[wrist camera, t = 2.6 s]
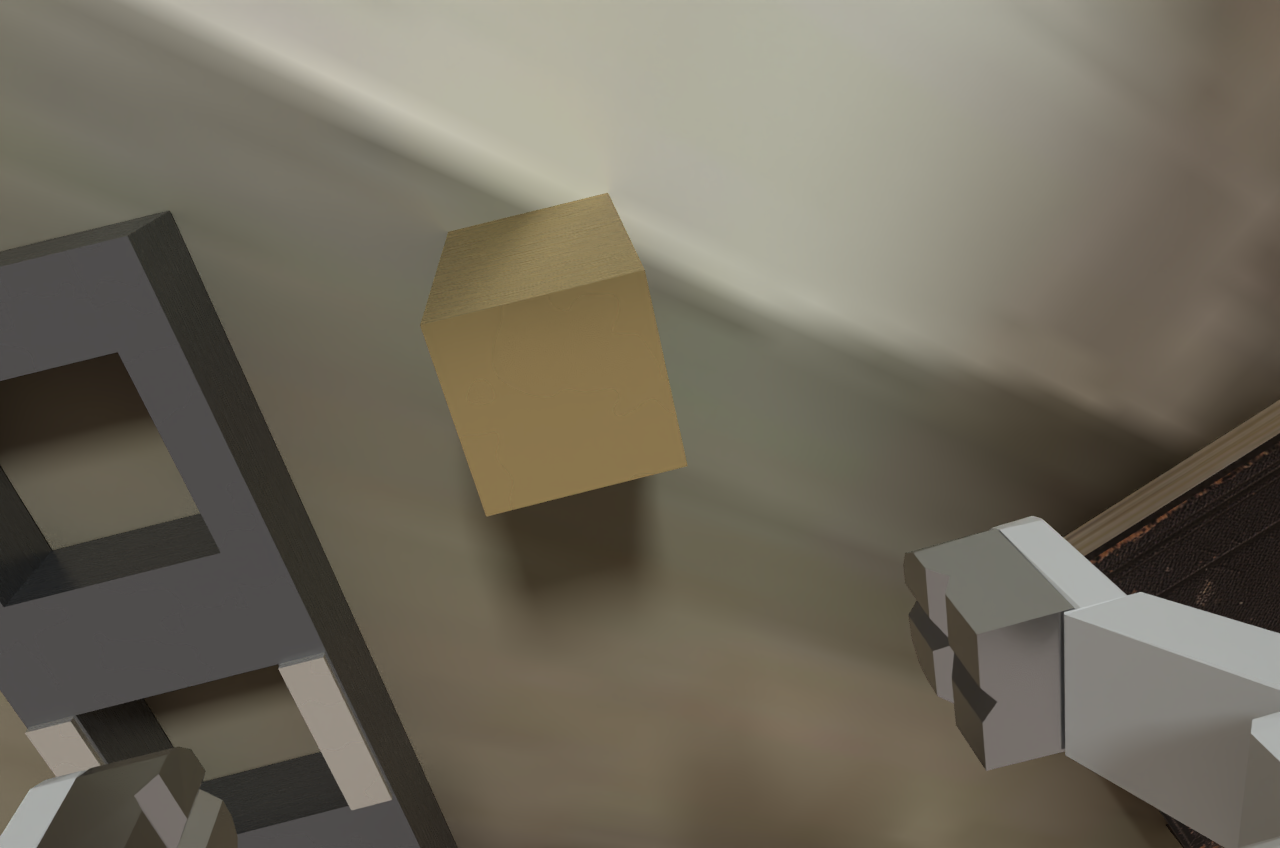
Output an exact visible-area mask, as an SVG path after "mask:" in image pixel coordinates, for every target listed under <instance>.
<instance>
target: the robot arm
mask: <svg viewBox="0 0 1280 848" xmlns="http://www.w3.org/2000/svg"><path fill="white" fill-rule="evenodd" d="M903 566H904V576H905V584H906V585H907V587H908V588H909V590H910V591H911V592H912V594H913V595H914V597H915V598H916V600H917V602H916V603H915V605H914V607H913V608H912V610H911V612H910V613H909V622H910V629H911V636H912V641H913V644H914V648H915V651H916V654H917V657H918V661H919V663H920V666H921V668H922V670H923V672H924V674H925V676H926V678H927V680H928V682H929V683H930V685H931V687H932V688H933V690H934V691H935V693H936V695H937V696H939V697H941V698H943V699H945V700H947V701H949V702H952V703H954V709H955V719H956V726H957V727H958V729H959V730H960V732H961V733H962V735H963V736H964V738H965V739H966V741H967V742H968V744H969V745H970V747H971V748H972V750H973V751H974V753H975V755H976V756H977V758H978V759H979V761H980V762H981V764H982V765H983V767H984V768H985V770H986V771H987V770H991V769H995V768H999V767H1003V766H1007V765H1011V764H1016V763H1020V762H1024V761H1028V760H1032V759H1036V758H1040V757H1044V756H1048V755H1052V754H1056V753H1060V752H1064V751H1065V755H1066V756H1068V757H1069V758H1071V759H1073V760H1074V761H1076V762H1078V763H1080V764H1081V765H1083V766H1085V767H1086V768H1088V769H1090V770H1092V771H1093V772H1095V773H1097V774H1099V775H1100V776H1102V777H1104V778H1105V779H1107V780H1109V781H1111V782H1112V783H1114V784H1116V785H1118V786H1119V787H1121V788H1123V789H1124V790H1126V791H1128V792H1130V793H1131V794H1133V795H1135V796H1137V797H1138V798H1140V799H1142V800H1143V801H1145V802H1147V803H1149V804H1150V805H1152V806H1154V807H1155V808H1157V809H1159V810H1161V811H1162V812H1164V813H1166V814H1168V815H1169V816H1171V817H1173V818H1174V819H1176V820H1178V821H1180V822H1181V823H1183V824H1185V825H1187V826H1188V827H1190V828H1192V829H1193V830H1195V831H1197V832H1199V833H1200V834H1202V835H1204V836H1205V837H1207V838H1209V839H1211V840H1212V841H1214V842H1216V843H1218V844H1219V845H1221V846H1223V847H1224V848H1280V633H1276V632H1273V631H1270V630H1266V629H1263V628H1260V627H1256V626H1253V625H1250V624H1246V623H1243V622H1240V621H1236V620H1233V619H1230V618H1226V617H1223V616H1220V615H1216V614H1213V613H1210V612H1206V611H1203V610H1200V609H1196V608H1193V607H1190V606H1186V605H1183V604H1180V603H1176V602H1173V601H1170V600H1166V599H1163V598H1159V597H1156V596H1153V595H1149V594H1146V593H1143V592H1139V593H1135V594H1131V595H1126V594H1125V593H1124V592H1123V591H1122V590H1121V589H1120V588H1119V587H1118V586H1116V585H1115V584H1114V583H1113V582H1112V581H1111V580H1110V579H1109V578H1108V577H1106V576H1105V575H1104V574H1103V573H1102V572H1101V571H1100V570H1099V569H1098V568H1096V567H1095V566H1094V565H1093V564H1092V563H1091V562H1090V561H1089V560H1088V559H1086V558H1085V557H1084V556H1083V555H1082V554H1081V553H1080V552H1079V551H1078V550H1076V549H1075V548H1074V547H1073V546H1072V545H1071V544H1070V543H1069V542H1068V541H1066V540H1065V539H1064V538H1063V537H1062V536H1061V535H1060V534H1059V533H1058V532H1056V531H1055V530H1054V529H1053V528H1052V527H1051V526H1050V525H1049V524H1048V523H1046V522H1045V521H1044V520H1043V519H1042V518H1039V517H1035V516H1030V517H1026V518H1023V519H1020V520H1016V521H1013V522H1010V523H1006V524H1003V525H1000V526H996V527H993V528H990V530H988V531H984V532H981V533H977V534H973V535H969V536H966V537H962V538H958V539H955V540H951V541H947V542H944V543H940V544H936V545H933V546H929V547H925V548H922V549H918V550H914V551H911V552H907V553H905V557H904V564H903ZM205 772H206V771H205V769H204V768H203V766H202V765H201V763H200V762H199V760H198V759H197V757H196V756H195V754H194V753H193V751H192V750H191V749H186V748H182V747H175V748H171V749H166V750H162V751H158V752H154V753H150V754H146V755H142V756H138V757H134V758H130V759H126V760H121V761H117V762H113V763H109V764H105V765H101V766H97V767H93V768H90V769H88V770H83V771H78V772H74V773H70V774H67V775H63V776H59V777H55V778H51V779H47V780H44V781H43V782H41V783H39V784H38V785H36V786H35V787H33V788H31V789H30V790H29V792H28V793H27V795H26V797H25V798H24V800H23V801H22V803H21V804H20V806H19V808H18V809H17V811H16V812H15V814H14V816H13V817H12V819H11V820H10V822H9V824H8V825H7V827H6V828H5V830H4V832H3V833H2V835H1V836H0V848H238V836H237V833H236V829H235V826H234V822H233V818H232V816H231V814H230V812H229V810H228V809H227V807H226V805H225V803H224V802H223V800H221V799H219V798H217V797H215V796H213V795H211V794H209V793H207V792H205V791H203V790H201V789H200V788H201V785H202V782H203V778H204V775H205Z"/></svg>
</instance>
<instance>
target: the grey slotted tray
mask: <svg viewBox="0 0 1280 848" xmlns="http://www.w3.org/2000/svg"><path fill="white" fill-rule="evenodd" d="M116 352H118V354H119V356H120V358H121V360H122V362H123V363H124V365H125V367H126V369H127V371H128V373H129V375H130V377H131V379H132V381H133V383H134V385H135V387H136V389H137V391H138V393H139V395H140V397H141V398H142V400H143V402H144V404H145V406H146V408H147V410H148V412H149V414H150V416H151V418H152V420H153V422H154V424H155V426H156V428H157V430H158V432H159V433H160V435H161V437H162V439H163V441H164V443H165V445H166V447H167V449H168V451H169V453H170V455H171V457H172V459H173V461H174V463H175V465H176V467H177V468H178V470H179V472H180V474H181V476H182V478H183V480H184V482H185V484H186V486H187V488H188V490H189V492H190V494H191V496H192V498H193V500H194V502H195V503H196V505H197V507H198V509H199V511H200V513H201V514H197V515H193V516H189V517H185V518H181V519H177V520H173V521H169V522H165V523H161V524H157V525H153V526H149V527H145V528H141V529H137V530H133V531H129V532H125V533H121V534H117V535H113V536H109V537H105V538H101V539H97V540H93V541H89V542H85V543H81V544H77V545H73V546H69V547H65V548H61V549H57V550H53V551H52V550H51V549H50V547H49V545H48V544H47V542H46V540H45V539H44V537H43V536H42V534H41V532H40V531H39V529H38V527H37V526H36V524H35V523H34V521H33V519H32V518H31V516H30V514H29V513H28V511H27V510H26V508H25V506H24V505H23V503H22V502H21V500H20V498H19V497H18V495H17V493H16V492H15V490H14V489H13V487H12V485H11V484H10V482H9V480H8V479H7V477H6V476H5V474H4V472H3V471H2V469H1V467H0V690H1V692H2V693H3V695H4V696H5V697H6V699H7V700H8V702H9V703H10V705H11V706H12V707H13V709H14V710H15V712H16V713H17V714H18V716H19V717H20V719H21V720H22V721H23V723H24V724H25V726H26V727H27V731H26V732H25V734H26V735H27V736H28V738H29V739H30V741H31V742H32V743H33V745H34V746H35V748H36V749H37V750H38V752H39V753H40V755H41V756H42V757H43V759H44V760H45V762H46V763H47V764H48V766H49V767H50V769H51V770H52V771H53V773H54V774H55V776H56V777H59V776H63V775H67V774H70V773H74V772H78V771H83V770H88V769H90V768H93V767H97V766H101V765H105V764H109V763H113V762H117V761H121V760H126V759H130V758H134V757H138V756H142V755H146V754H150V753H154V752H158V751H162V750H166V749H171V748H173V746H172V745H171V743H170V742H169V740H168V738H167V737H166V735H165V733H164V732H163V730H162V729H161V727H160V725H159V724H158V722H157V720H156V719H155V717H154V716H153V714H152V712H151V711H150V709H149V707H148V706H147V704H146V703H145V701H144V699H143V698H146V697H150V696H154V695H158V694H162V693H166V692H170V691H174V690H178V689H182V688H186V687H190V686H194V685H198V684H202V683H206V682H210V681H214V680H217V679H221V678H225V677H229V676H233V675H237V674H241V673H245V672H249V671H253V670H257V669H261V668H265V667H269V666H273V665H277V664H278V665H279V668H278V669H279V671H280V673H281V675H282V677H283V679H284V681H285V683H286V685H287V687H288V689H289V691H290V693H291V695H292V697H293V698H294V700H295V702H296V704H297V706H298V708H299V710H300V712H301V714H302V716H303V718H304V720H305V722H306V724H307V726H308V728H309V729H310V731H311V733H312V735H313V737H314V739H315V741H316V743H317V745H318V747H319V749H320V751H321V752H319V753H315V754H311V755H307V756H304V757H300V758H296V759H292V760H288V761H284V762H280V763H276V764H272V765H268V766H264V767H260V768H256V769H253V770H249V771H245V772H241V773H237V774H233V775H229V776H225V777H221V778H217V779H213V780H209V781H205V782H202V785H201V788H200V789H201V790H203V791H205V792H207V793H209V794H211V795H213V796H215V797H217V798H219V799H221V800H223V802H224V803H225V805H226V807H227V809H228V810H229V812H230V814H231V816H232V818H233V822H234V826H235V829H236V833H237V836H238V848H457V846H456V844H455V841H454V839H453V837H452V835H451V832H450V830H449V828H448V826H447V824H446V821H445V819H444V817H443V815H442V813H441V810H440V808H439V806H438V804H437V801H436V799H435V797H434V795H433V793H432V790H431V788H430V786H429V784H428V782H427V779H426V777H425V775H424V773H423V770H422V768H421V766H420V764H419V762H418V759H417V757H416V755H415V753H414V751H413V748H412V746H411V744H410V742H409V739H408V737H407V735H406V733H405V731H404V728H403V726H402V724H401V722H400V720H399V717H398V715H397V713H396V711H395V708H394V706H393V704H392V702H391V700H390V697H389V695H388V693H387V691H386V689H385V686H384V684H383V682H382V680H381V677H380V675H379V673H378V671H377V669H376V666H375V664H374V662H373V660H372V657H371V655H370V653H369V651H368V649H367V646H366V644H365V642H364V640H363V638H362V635H361V633H360V631H359V629H358V626H357V624H356V622H355V620H354V618H353V615H352V613H351V611H350V609H349V607H348V604H347V602H346V600H345V598H344V595H343V593H342V591H341V589H340V587H339V584H338V582H337V580H336V578H335V576H334V573H333V571H332V569H331V567H330V564H329V562H328V560H327V558H326V556H325V553H324V551H323V549H322V547H321V545H320V542H319V540H318V538H317V536H316V533H315V531H314V529H313V527H312V525H311V522H310V520H309V518H308V516H307V514H306V511H305V509H304V507H303V505H302V502H301V500H300V498H299V496H298V494H297V491H296V489H295V487H294V485H293V483H292V480H291V478H290V476H289V474H288V471H287V469H286V467H285V465H284V463H283V460H282V458H281V456H280V454H279V451H278V449H277V447H276V445H275V443H274V440H273V438H272V436H271V434H270V432H269V429H268V427H267V425H266V423H265V420H264V418H263V416H262V414H261V412H260V409H259V407H258V405H257V403H256V401H255V398H254V396H253V394H252V392H251V389H250V387H249V385H248V383H247V381H246V378H245V376H244V374H243V372H242V370H241V367H240V365H239V363H238V361H237V358H236V356H235V354H234V352H233V350H232V347H231V345H230V343H229V341H228V339H227V336H226V334H225V332H224V330H223V327H222V325H221V323H220V321H219V319H218V316H217V314H216V312H215V310H214V308H213V305H212V303H211V301H210V299H209V296H208V294H207V292H206V290H205V288H204V285H203V283H202V281H201V279H200V277H199V274H198V272H197V270H196V268H195V265H194V263H193V261H192V259H191V257H190V254H189V252H188V250H187V248H186V245H185V243H184V241H183V239H182V237H181V234H180V232H179V230H178V228H177V226H176V223H175V221H174V219H173V217H172V214H171V212H170V211H166V212H162V213H158V214H154V215H149V216H145V217H141V218H137V219H133V220H129V221H125V222H121V223H116V224H112V225H108V226H104V227H100V228H96V229H92V230H88V231H84V232H79V233H75V234H71V235H67V236H63V237H59V238H55V239H51V240H46V241H42V242H38V243H34V244H30V245H26V246H22V247H18V248H14V249H9V250H5V251H1V252H0V381H2V380H6V379H10V378H14V377H18V376H22V375H26V374H31V373H35V372H39V371H43V370H47V369H51V368H55V367H59V366H63V365H67V364H71V363H75V362H79V361H84V360H88V359H92V358H96V357H100V356H104V355H108V354H112V353H116Z"/></svg>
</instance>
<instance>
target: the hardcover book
mask: <svg viewBox="0 0 1280 848" xmlns="http://www.w3.org/2000/svg"><path fill="white" fill-rule="evenodd" d="M1063 538H1064V539H1065V540H1066V541H1068V542H1069V543H1070V544H1071V545H1072V546H1073V547H1074V548H1075V549H1076V550H1078V551H1079V552H1080V553H1081V554H1082V555H1083V556H1084V557H1085V558H1086V559H1088V560H1089V561H1090V562H1091V563H1092V564H1093V565H1094V566H1095V567H1096V568H1098V569H1099V570H1100V571H1101V572H1102V573H1103V574H1104V575H1105V576H1106V577H1108V578H1109V579H1110V580H1111V581H1112V582H1113V583H1114V584H1115V585H1116V586H1118V587H1119V588H1120V589H1121V590H1122V591H1123V592H1124V593H1125V594H1126V595H1131V594H1135V593H1139V592H1143V593H1146V594H1149V595H1153V596H1156V597H1159V598H1163V599H1166V600H1170V601H1173V602H1176V603H1180V604H1183V605H1186V606H1190V607H1193V608H1196V609H1200V610H1203V611H1206V612H1210V613H1213V614H1216V615H1220V616H1223V617H1226V618H1230V619H1233V620H1236V621H1240V622H1243V623H1246V624H1250V625H1253V626H1256V627H1260V628H1263V629H1266V630H1270V631H1273V632H1276V633H1280V400H1278V401H1277V402H1275V403H1274V404H1272V405H1271V406H1269V407H1267V408H1266V409H1264V410H1263V411H1261V412H1260V413H1258V414H1256V415H1255V416H1253V417H1252V418H1250V419H1249V420H1247V421H1245V422H1244V423H1242V424H1241V425H1239V426H1238V427H1236V428H1234V429H1233V430H1231V431H1230V432H1228V433H1227V434H1225V435H1223V436H1222V437H1220V438H1219V439H1217V440H1216V441H1214V442H1212V443H1211V444H1209V445H1208V446H1206V447H1205V448H1203V449H1201V450H1200V451H1198V452H1197V453H1195V454H1194V455H1192V456H1190V457H1189V458H1187V459H1186V460H1184V461H1183V462H1181V463H1179V464H1178V465H1176V466H1175V467H1173V468H1172V469H1170V470H1168V471H1167V472H1165V473H1164V474H1162V475H1161V476H1159V477H1157V478H1156V479H1154V480H1153V481H1151V482H1150V483H1148V484H1146V485H1145V486H1143V487H1142V488H1140V489H1139V490H1137V491H1135V492H1134V493H1132V494H1131V495H1129V496H1128V497H1126V498H1124V499H1123V500H1121V501H1120V502H1118V503H1117V504H1115V505H1113V506H1112V507H1110V508H1109V509H1107V510H1106V511H1104V512H1102V513H1101V514H1099V515H1098V516H1096V517H1095V518H1093V519H1091V520H1090V521H1088V522H1087V523H1085V524H1084V525H1082V526H1080V527H1079V528H1077V529H1076V530H1074V531H1073V532H1071V533H1069V534H1068V535H1066V536H1065V537H1063ZM1159 811H1160V812H1161V814H1162V815H1163V817H1164V818H1165V820H1166V821H1167V823H1168V824H1166V826H1167V827H1168V829H1169V830H1170V831H1171V833H1172V834H1173V835H1174V836H1175V838H1176V839H1177V840H1178V842H1179V843H1180V844H1181V845H1182V847H1183V848H1221V847H1223V846H1221V845H1219V844H1218V843H1216V842H1214V841H1212V840H1211V839H1209V838H1207V837H1205V836H1204V835H1202V834H1200V833H1199V832H1197V831H1195V830H1193V829H1192V828H1190V827H1188V826H1187V825H1185V824H1183V823H1181V822H1180V821H1178V820H1176V819H1174V818H1173V817H1171V816H1169V815H1168V814H1166V813H1164V812H1162V811H1161V810H1159Z"/></svg>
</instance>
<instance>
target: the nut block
mask: <svg viewBox="0 0 1280 848" xmlns="http://www.w3.org/2000/svg"><path fill="white" fill-rule="evenodd" d="M420 326H421V329H422V332H423V335H424V338H425V341H426V343H427V346H428V349H429V352H430V355H431V358H432V361H433V364H434V367H435V369H436V372H437V375H438V378H439V381H440V384H441V387H442V390H443V393H444V395H445V398H446V401H447V404H448V407H449V410H450V413H451V416H452V419H453V421H454V424H455V427H456V430H457V433H458V436H459V439H460V442H461V445H462V448H463V450H464V453H465V456H466V459H467V462H468V465H469V468H470V471H471V474H472V476H473V479H474V482H475V485H476V488H477V491H478V494H479V497H480V500H481V502H482V505H483V508H484V511H485V514H486V517H487V516H491V515H495V514H499V513H503V512H507V511H511V510H514V509H518V508H522V507H526V506H530V505H534V504H538V503H542V502H546V501H550V500H554V499H558V498H562V497H566V496H570V495H574V494H578V493H582V492H586V491H590V490H594V489H598V488H602V487H606V486H610V485H614V484H618V483H622V482H626V481H630V480H634V479H638V478H642V477H646V476H650V475H654V474H658V473H662V472H666V471H670V470H674V469H678V468H682V467H685V466H687V462H686V457H685V452H684V448H683V443H682V439H681V434H680V430H679V425H678V420H677V416H676V411H675V407H674V402H673V398H672V393H671V388H670V384H669V379H668V375H667V370H666V366H665V361H664V356H663V352H662V347H661V343H660V338H659V334H658V329H657V324H656V320H655V315H654V311H653V306H652V302H651V297H650V293H649V288H648V283H647V279H646V274H645V270H644V268H643V266H642V263H641V261H640V259H639V257H638V255H637V253H636V251H635V249H634V247H633V245H632V242H631V240H630V238H629V236H628V234H627V232H626V230H625V228H624V226H623V224H622V221H621V219H620V217H619V215H618V213H617V211H616V209H615V207H614V205H613V203H612V200H611V198H610V196H609V194H608V193H605V194H601V195H597V196H593V197H589V198H585V199H581V200H577V201H573V202H568V203H564V204H560V205H556V206H552V207H548V208H544V209H540V210H536V211H532V212H528V213H524V214H520V215H515V216H511V217H507V218H503V219H499V220H495V221H491V222H487V223H483V224H479V225H475V226H471V227H466V228H462V229H458V230H454V231H450V232H448V235H447V238H446V241H445V245H444V248H443V251H442V255H441V258H440V261H439V265H438V268H437V271H436V275H435V278H434V281H433V285H432V288H431V291H430V295H429V298H428V301H427V305H426V308H425V311H424V315H423V318H422V321H421V325H420Z"/></svg>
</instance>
